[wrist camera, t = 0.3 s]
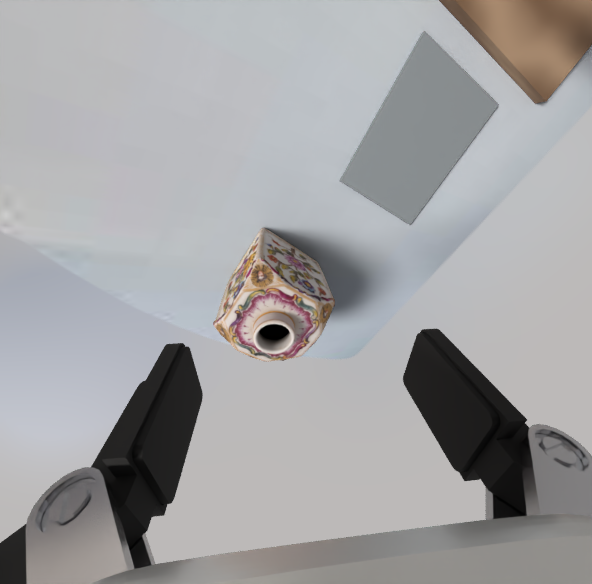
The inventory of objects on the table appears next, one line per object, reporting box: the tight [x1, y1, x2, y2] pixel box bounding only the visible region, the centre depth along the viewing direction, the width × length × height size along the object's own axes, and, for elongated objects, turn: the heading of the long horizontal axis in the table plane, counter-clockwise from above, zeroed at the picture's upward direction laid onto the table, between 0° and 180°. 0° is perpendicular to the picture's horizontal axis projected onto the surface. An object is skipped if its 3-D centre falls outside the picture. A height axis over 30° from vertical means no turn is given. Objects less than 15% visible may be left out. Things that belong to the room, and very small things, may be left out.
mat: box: [340, 31, 499, 225], centre depth 34 cm, size 18×14×1 cm
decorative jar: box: [213, 228, 335, 362], centre depth 34 cm, size 12×12×18 cm
